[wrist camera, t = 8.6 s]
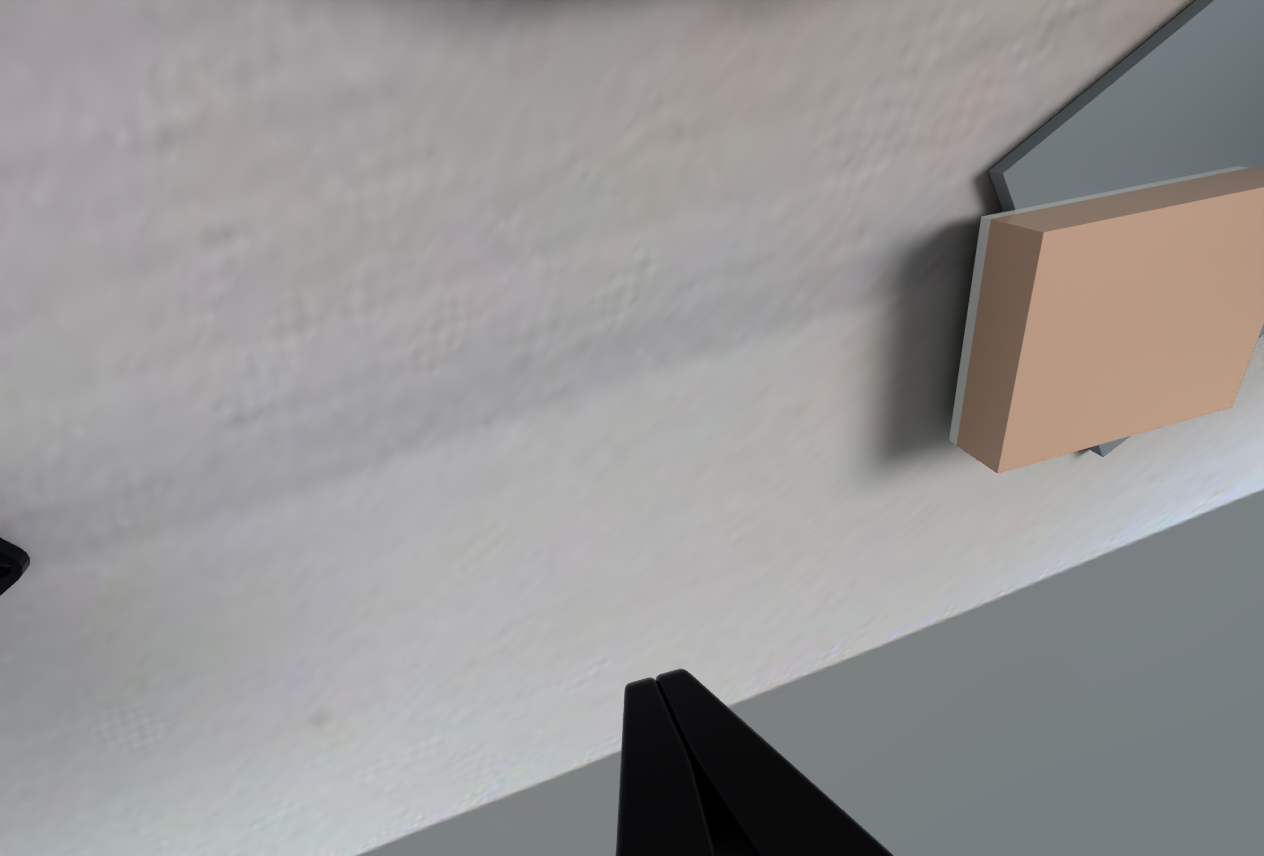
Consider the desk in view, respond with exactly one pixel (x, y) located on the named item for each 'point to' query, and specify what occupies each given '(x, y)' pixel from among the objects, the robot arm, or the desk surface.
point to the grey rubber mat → (1153, 116)
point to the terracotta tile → (1110, 316)
